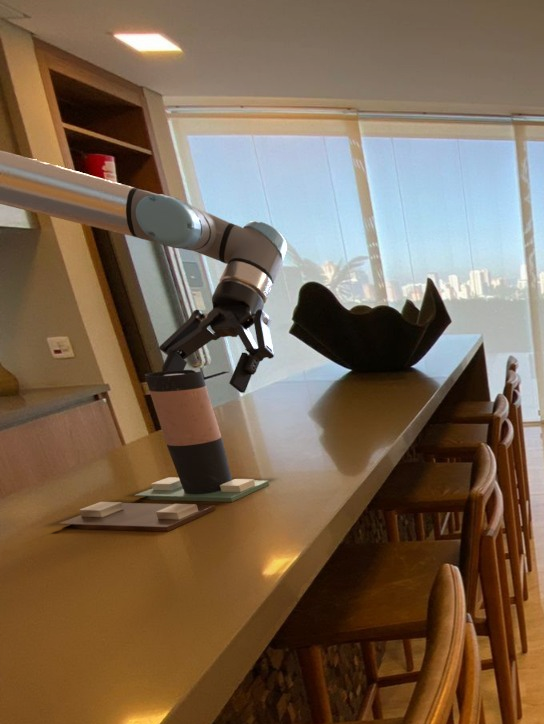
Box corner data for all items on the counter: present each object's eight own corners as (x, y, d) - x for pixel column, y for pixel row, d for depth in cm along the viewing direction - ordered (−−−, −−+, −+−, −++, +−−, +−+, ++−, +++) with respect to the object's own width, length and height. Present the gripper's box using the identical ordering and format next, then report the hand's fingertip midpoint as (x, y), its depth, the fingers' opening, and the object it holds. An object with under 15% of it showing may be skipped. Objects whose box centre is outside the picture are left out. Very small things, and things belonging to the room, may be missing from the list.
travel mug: (174, 497, 96) (133, 377, 88) (193, 483, 102) (157, 370, 95) (225, 492, 97) (190, 374, 90) (241, 479, 104) (209, 368, 97)
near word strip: (59, 528, 85) (53, 516, 85) (115, 506, 94) (111, 495, 93) (168, 531, 84) (163, 519, 83) (215, 509, 92) (212, 498, 91)
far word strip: (135, 499, 97) (131, 488, 96) (179, 482, 105) (176, 472, 104) (232, 502, 95) (228, 490, 95) (269, 484, 104) (266, 474, 103)
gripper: (316, 308, 108) (281, 400, 100) (197, 309, 111) (153, 399, 102) (291, 278, 102) (252, 374, 93) (164, 279, 104) (115, 374, 96)
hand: (200, 388), depth 98 cm, fingers open, 13 cm apart
